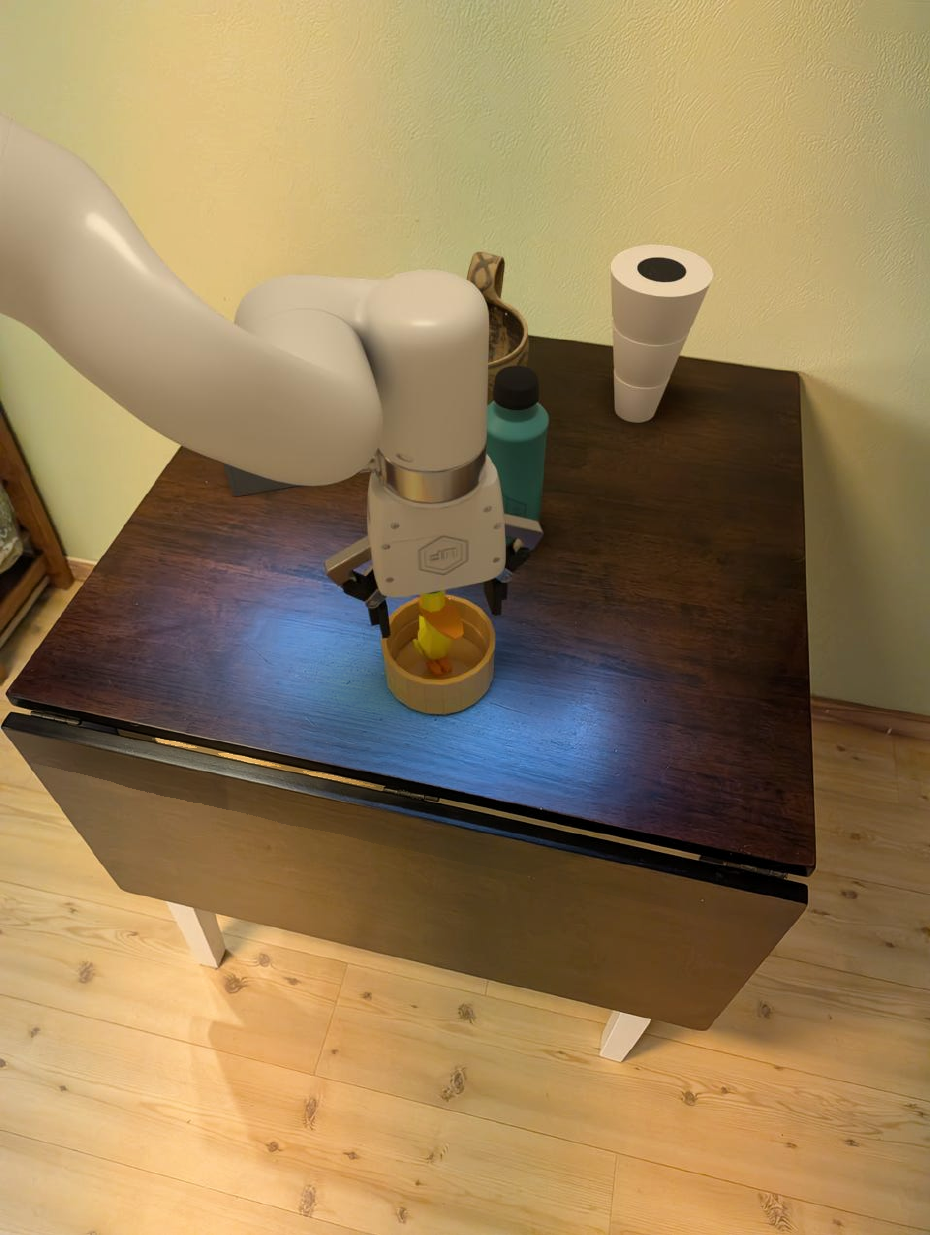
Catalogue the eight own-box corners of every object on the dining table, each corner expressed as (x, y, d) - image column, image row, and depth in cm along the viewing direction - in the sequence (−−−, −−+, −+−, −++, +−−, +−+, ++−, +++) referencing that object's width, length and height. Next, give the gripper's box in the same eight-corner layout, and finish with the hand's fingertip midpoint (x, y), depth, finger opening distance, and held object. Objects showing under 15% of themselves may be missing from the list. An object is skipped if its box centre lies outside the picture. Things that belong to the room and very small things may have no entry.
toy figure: (475, 685, 77) (477, 599, 67) (442, 703, 75) (439, 618, 66) (436, 636, 80) (433, 548, 71) (404, 652, 79) (396, 565, 70)
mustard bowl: (397, 726, 74) (393, 694, 70) (376, 639, 80) (371, 605, 76) (506, 703, 76) (508, 670, 72) (477, 619, 82) (478, 585, 78)
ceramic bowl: (488, 481, 94) (491, 365, 83) (352, 445, 98) (337, 329, 87) (549, 371, 108) (560, 258, 96) (427, 343, 111) (423, 231, 100)
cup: (619, 447, 98) (645, 305, 84) (575, 396, 104) (592, 256, 90) (696, 424, 101) (733, 283, 87) (648, 375, 107) (676, 236, 93)
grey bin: (233, 497, 93) (221, 454, 88) (225, 434, 100) (213, 391, 95) (334, 480, 94) (327, 437, 90) (320, 419, 101) (313, 377, 97)
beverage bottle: (550, 530, 90) (568, 368, 74) (519, 569, 86) (531, 407, 70) (497, 507, 92) (505, 345, 76) (465, 544, 88) (465, 382, 73)
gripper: (314, 515, 55) (344, 669, 68) (568, 471, 57) (549, 627, 71) (299, 443, 59) (330, 601, 73) (535, 405, 62) (523, 564, 75)
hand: (438, 614), depth 72 cm, fingers open, 9 cm apart
